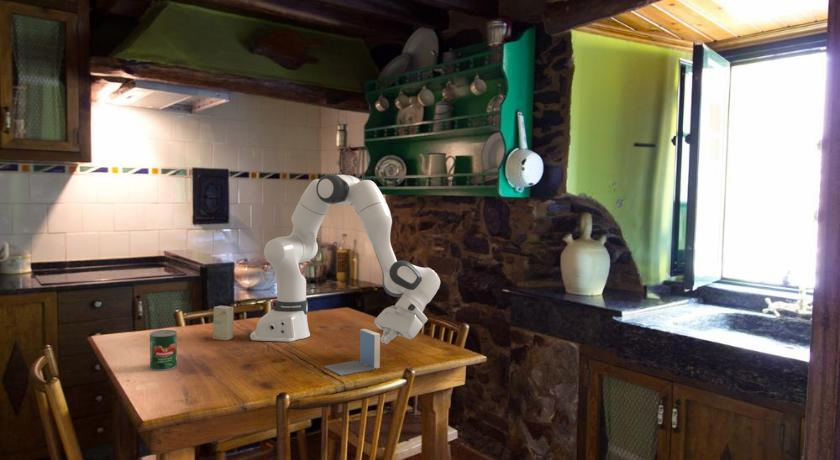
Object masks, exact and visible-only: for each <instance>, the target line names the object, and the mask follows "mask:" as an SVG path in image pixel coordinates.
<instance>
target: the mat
mask: <svg viewBox="0 0 840 460" xmlns="http://www.w3.org/2000/svg"><path fill="white" fill-rule="evenodd" d="M323 367H324V369H326V370H328V371H330V372H332V373H334V374H336V375H338V376H340V377H342V376H348V374H349V375H353V373H355V374H359V372H360V373H364V372H365V373H366V372H370V371H374V370H375V369H374V368H372V367H370V366H368V365H365V364H363V363H361V362H360V360H356V359H355V360H352V361H351V360H350V361H345V362H340V363H333V364H328V365H324V366H323Z"/></svg>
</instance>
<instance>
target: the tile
mask: <svg viewBox="0 0 840 460" xmlns="http://www.w3.org/2000/svg"><path fill="white" fill-rule="evenodd" d="M359 331H360V332H359V335H360V336H359V339H360V340H359V344H360V345H359V362H361V363H363V364H366V365H368V366H370V367H372V368H374V370H375V368H376V369H379V368H381V366H380V365H381V364H380V363H381V357H380V356H381V341H380V338H381V333H378V332H376V331H373V330H371V329H368V328H360V330H359Z"/></svg>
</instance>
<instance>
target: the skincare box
mask: <svg viewBox="0 0 840 460" xmlns="http://www.w3.org/2000/svg"><path fill="white" fill-rule="evenodd" d="M212 321H213V326H212V332H213V333H212V338H213V339H214V340H219V341H228V340H232V339H234V306H229V305H217V306H213V320H212Z"/></svg>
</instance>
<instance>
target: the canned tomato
mask: <svg viewBox="0 0 840 460" xmlns="http://www.w3.org/2000/svg"><path fill="white" fill-rule="evenodd" d="M177 333H178V332H177V330H174V329H162V330H155V331H151V332H150V333H149V369H150V370H151V371H156V372H160V371H162V372H163V371H169V370H173V369H175V368H177V366H178V363H177V362H178V355H177V354H178V349H177V348H178V347H177V346H178V344H177V343H178V341H177V339H178V338H177V337H178V335H177Z"/></svg>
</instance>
